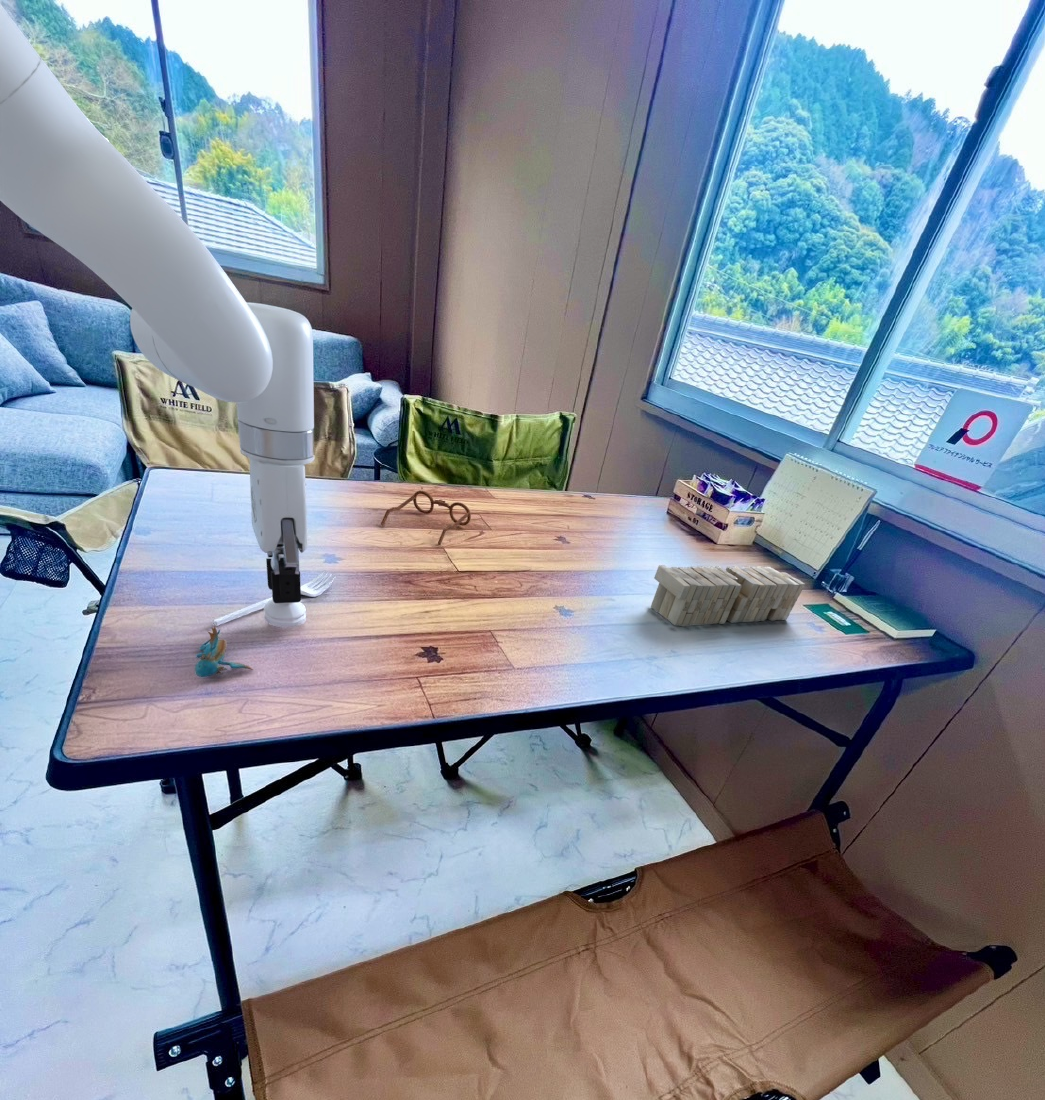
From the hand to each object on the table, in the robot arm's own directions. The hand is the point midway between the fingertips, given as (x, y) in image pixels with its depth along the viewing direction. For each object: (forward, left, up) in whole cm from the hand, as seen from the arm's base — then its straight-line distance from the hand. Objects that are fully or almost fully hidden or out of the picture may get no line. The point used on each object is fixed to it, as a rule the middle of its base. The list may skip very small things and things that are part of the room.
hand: (284, 593), depth 73 cm
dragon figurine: (-8, -7, -5) cm, 12 cm away
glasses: (+32, +36, -5) cm, 49 cm away
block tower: (+74, -5, -5) cm, 75 cm away
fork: (0, +7, -5) cm, 9 cm away
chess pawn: (0, 0, -4) cm, 4 cm away
